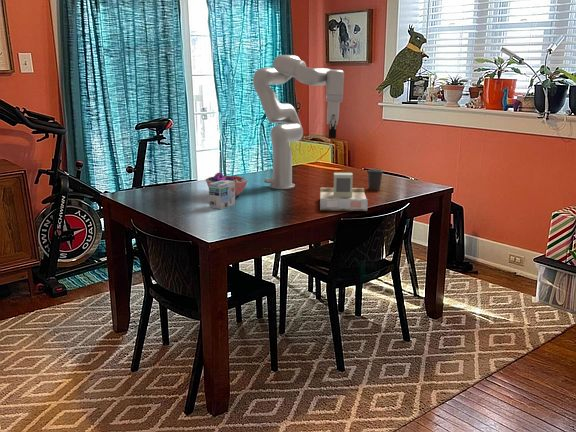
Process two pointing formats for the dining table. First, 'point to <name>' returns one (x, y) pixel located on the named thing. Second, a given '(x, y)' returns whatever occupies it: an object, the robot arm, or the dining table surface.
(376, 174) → the coffee cup
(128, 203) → the dining table surface
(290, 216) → the dining table surface
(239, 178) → the cell model
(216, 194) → the light bulb box
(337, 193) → the product box
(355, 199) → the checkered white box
